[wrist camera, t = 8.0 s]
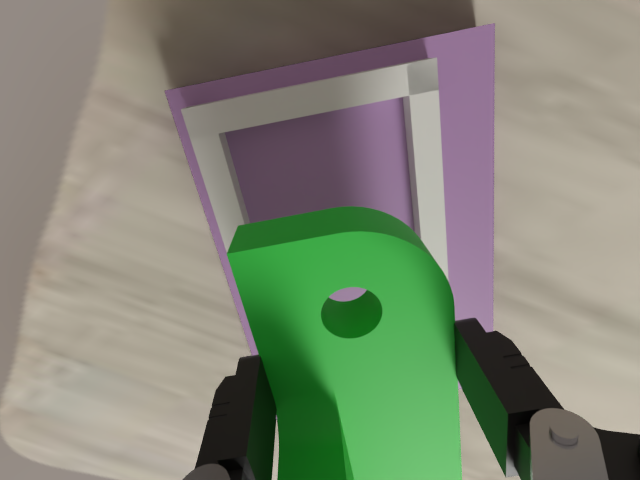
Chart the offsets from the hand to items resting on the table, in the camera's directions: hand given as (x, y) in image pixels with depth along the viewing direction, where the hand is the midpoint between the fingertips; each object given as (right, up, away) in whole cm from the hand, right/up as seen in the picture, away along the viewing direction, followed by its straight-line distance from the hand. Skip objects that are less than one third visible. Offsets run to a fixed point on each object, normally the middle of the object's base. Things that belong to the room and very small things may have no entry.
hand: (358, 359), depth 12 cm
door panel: (+1, +3, +9) cm, 10 cm away
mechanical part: (0, 0, +2) cm, 2 cm away
